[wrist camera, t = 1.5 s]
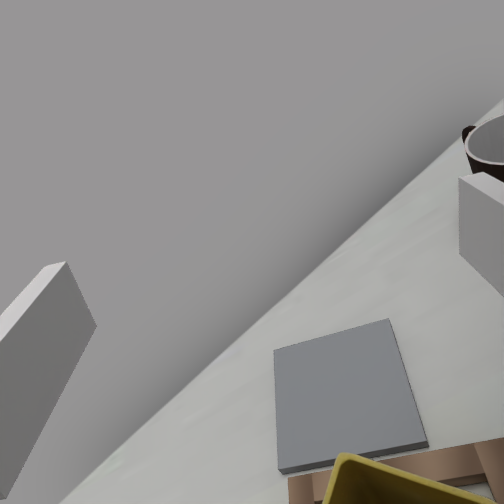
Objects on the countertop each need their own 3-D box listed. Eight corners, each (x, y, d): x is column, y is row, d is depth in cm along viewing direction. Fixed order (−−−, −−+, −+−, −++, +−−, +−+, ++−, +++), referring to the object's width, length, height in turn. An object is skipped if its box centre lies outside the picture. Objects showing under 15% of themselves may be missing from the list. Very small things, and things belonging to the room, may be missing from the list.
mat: (390, 324, 42) (388, 318, 41) (428, 446, 32) (426, 440, 32) (277, 355, 45) (273, 350, 44) (282, 474, 36) (278, 469, 35)
